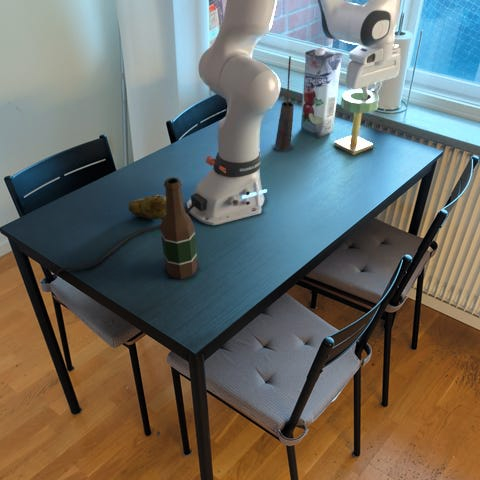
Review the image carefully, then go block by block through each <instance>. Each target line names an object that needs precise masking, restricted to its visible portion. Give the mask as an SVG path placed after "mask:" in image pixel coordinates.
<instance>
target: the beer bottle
mask: <svg viewBox="0 0 480 480" xmlns="http://www.w3.org/2000/svg"><path fill="white" fill-rule="evenodd" d="M182 185H183V184H182V182H181V180H180V178H178V177H168V178H166V180H165V181H164V182H163V186H164V188H165V197H166V205H167V209H166V215H165V216H164V218H163V220H161V222H160V225H161V227H160V236H161V237H160V238H161V243H162V251H163V252H162V253H163V259H164V264H165V270H166V271H167V274H169V277H171V278H173V279H174V278H175V279H179V280H184V279H188V278H191V277H193V276H194V274H195V273H196V272H197V270H198V252H197V241H196V230H195V225H194V222H193V221H192V219H191V217H190V215H189V216H188V214H187V213H186V212H187V211H186V209H185V206H184V205H185V204H184V200H183V194H182V187H181V186H182Z"/></svg>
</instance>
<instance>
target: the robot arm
mask: <svg viewBox="0 0 480 480" xmlns="http://www.w3.org/2000/svg"><path fill="white" fill-rule="evenodd" d="M277 1H278V0H226V1H225V2H226V3H225V7H224V14H223V19H222V22H221V25H220V28H219V30H218V33H217V35H216V37H215V39H214V41H213V43H212V44H211V45H210V47H208V48H207V49H206V50H205V51H204V52H203V53H202V55H201V57H200V59H199V62H198V75H199V78H200V79H201V81H202V82H203V83H204V84H205V86H206V87H207V88H208V89H209V90H210V91H211V92H213V93H214V94H216V95H218V96H220V97H222V98H223V99H225V101H226V105H227V110H226V114H225V116H224V117H223V118H222V119H221V120H220V121H218V124H217V127H216V128H217V129H216V130H217V131H216V132H217V153H216V156H215V158H213V157H212V156H210V155H208V156H206V158H205V163H206V164H208V165H209V166H212V168H211V169H210V170H209V172H208V173H207V174H206V175H205V176H203V178H202V179H201V180H200V181H199V182H198V183H197V184H196V186H195V189H194V193H193V194H191V195H190V199H189V200H187V201H186V209H187V210H186V211H185V212H186V213H187V214H188V216H189V217H190V215H191V216H192V217H193V218H195V219H196V220H198V221H199V222H200V223H202V224H205V225H207V226H213V227H214V226H219V225H222V224H226V223H229V222H233V221H237V220H242V219H245V218H249V217H253V216H256V215H260V214H261V213H262V206H263V205H264V203H265V195H264V194H265V193H266V194H267V193H268V189H267V188H266V189H263V187H262V182H261V181H262V180H261V171H260V170H261V167H262V153H261V150H260V146H261V145H260V144H261V127H262V122H263V119H264V116H265V114H266V113H267V112H268V111H269V110H270V109H272V108H273V107H274V106H275V105H276V103H277V101H278V100H279V96H280V94H281V93H280V92H281V81H280V78H279V77H278V75H277V74H276V72H275V71H273V69H272V68H270V67H269V66H268V65H266V63H264V62H262V61H260V60H257V59H255V58H254V57H253V53H254V50H255V48H256V46H257V44H258V42H259V41H260V40H261V39H262V38H263V37H265V36H266V35H268V34H269V33H270V31H271V29H272V27H273V26H272V25H273V22H274V21H273V20H274V16H275V11H276V6H277ZM317 3H318V6H319V11H320V16H321V18H320V20H321V28H322V32H323V34H324V36H325V37H326V38H328V39H329V40H335V41H342V42H344V43H348V44H352V45H355V46H356V45H357V46H356V47H355V48H354V49H352V50H351V51H350V52H349V55H348V58H349V60H350V61H349V62H348V65H347V67H346V68H347V69H346V74H345V86H346V87H347V88H348V89H350V90H359V89H361V90H362V92H363V96H362V98H363V99H365V100H366V99H369V98H370V93H369V92H368V91H369V90H368V89H370V86H372V85H373V88H372V89H371V90H370V91H372V92H374V93H377V94H378V95H379V92H380V89H381V88H382V86H383V84H384V82H385V81H388V80H390V79H391V80H392V79H394V78H396V77H398V76H399V74H400V71H401V63H402V55H401V51H402V48H401V46H400V45H399V44H395V39H396V36H395V31H396V28H397V27H398V22H399V15H400V9H401V0H368V1H367V2H366V3H364V4H358V3H354V2H350V1H347V0H317ZM156 229H161V224H158V225H157V224H156V225H154V226H150V227H146V228H143V229H140V230H137V231H135V232H133V233H131V234H129V235H127V236H125V237H124V238H123V239H121V241H120V242H118V243H117V244H116V245H115V246H113V247H112V248H111V249H110V250H108V251H107V252H105V253H104V254H103V255H102V256H101V257H100V258H98V259H97V260H96V261H94V262H92V263H90V264H87V265H85V266H63V267H60V268H59V269H57V270H56V271H55V272H54V274H53V277H54V276H58V275H59V274H60V273H61V272H62V271H68V270H70V271H72V270H75V271H83V270H88V269H90V268H92V267H95V266H96V265H98V264H100V263H101V262H102V261H103V260H105V259H106V258H107V257H108V256H109V255H110V254H112V253H113V252H114V251H116V250H118V248H119V247H121V246H122V245H123V244H124V243H126V241H128V240H130V239H132V238H133V237H135V236H137V235H140V234H143V233H146V232H149V231H152V230H156Z"/></svg>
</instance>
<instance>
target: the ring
mask: <svg viewBox="0 0 480 480" xmlns="http://www.w3.org/2000/svg"><path fill="white" fill-rule="evenodd" d="M368 92H369V93H370V98H369V99H366V100H365V99H363V98H362V96H363V92H362V89H361V88H359V89H356V90H352V89H350V90H346V91H344V92H343V94H342V95H341V99H340V106H341V108H342V110H345V111H346V112H348V113H353V114H354V113H362V114H369V113H373V112H376V110H377V109H378V108H379V103H380V99H381V98H380V96H379V93H378V94H377V93H374V92H372V91H371V90H368Z"/></svg>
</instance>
